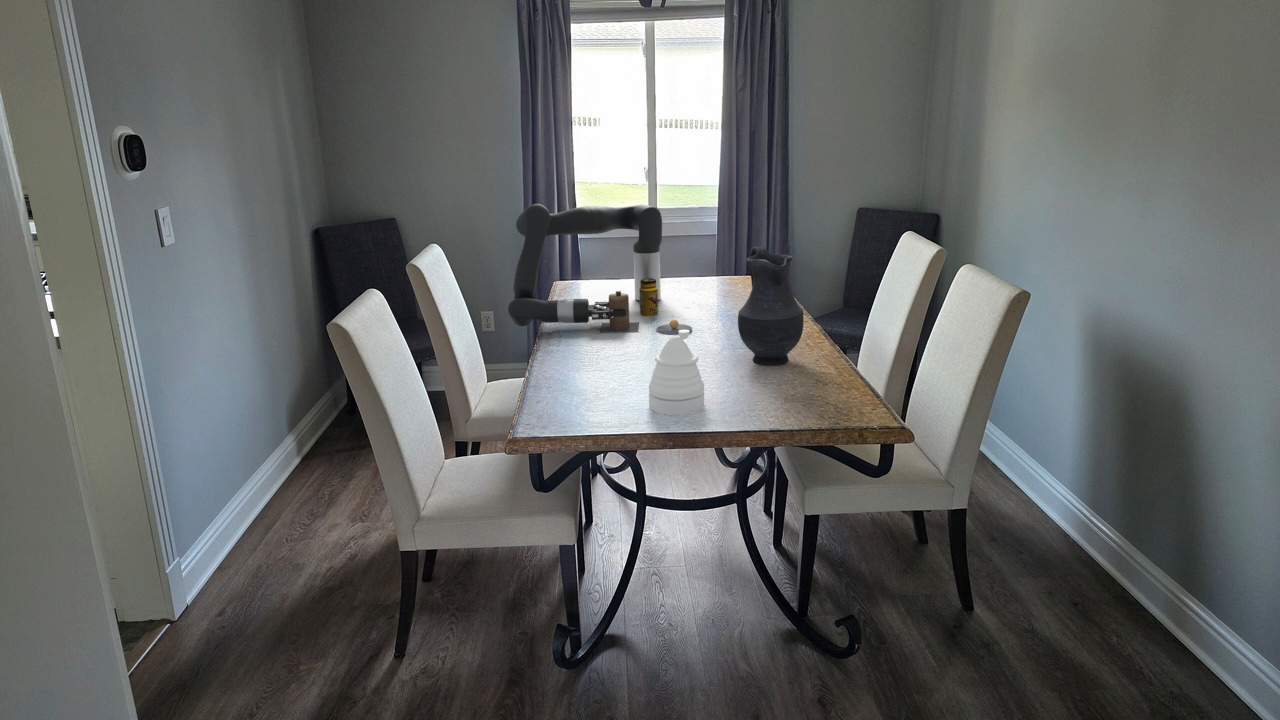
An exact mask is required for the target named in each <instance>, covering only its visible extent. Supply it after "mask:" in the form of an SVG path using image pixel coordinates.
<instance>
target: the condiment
mask: <svg viewBox="0 0 1280 720" xmlns="http://www.w3.org/2000/svg"><path fill="white" fill-rule="evenodd" d="M640 283H641V284H640V286H641V287H640V289H639V294H640V301H639V313H640V315H641V316H645V317H648V316H649V317H652V316H657V315H658V313H659V302H658V301H659V300H658V289H657V287H656V280H655V279H652V278H645V279H641V281H640Z"/></svg>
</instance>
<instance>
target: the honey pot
mask: <svg viewBox="0 0 1280 720" xmlns="http://www.w3.org/2000/svg"><path fill="white" fill-rule="evenodd" d="M678 333H679V334H678V336H672V337H670V338H669V339H668V340H667V341H666V342H665V344H664V345H663V346H662V349H661V350H660V353H659V354H657V355H656V356H654V357H655V358H654V361H655V363H656V365H655V368H653V370H652V376H651V380H650V382H649V385H648V392H649V393H648V403H649V404H648V405H649V409H650V410H651V409H652V410H653V411H652V410H651V411H652V412H654V411H655V413H656V412H658V413H657V414H659V413H662V414H661V415H664V414H667V415H666V416H686V415H687V414H688V415H691V413H693V414H695V412H696V413H698V412H701V411H702V410H703V409H704V408H703V407H705V383H704V382H703V381H704V380H702V375H701V374H700V369H699V368H698V365H697V362H699V355H698V354H696V353H694V352H692V351H691V350H690V348H689V346H688V344H687V343H686V341H684V340H686V339H688V338H689V336H690V334H691V333H690V331H689V330H679V331H678ZM701 409H702V410H701Z"/></svg>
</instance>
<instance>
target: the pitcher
mask: <svg viewBox="0 0 1280 720" xmlns="http://www.w3.org/2000/svg"><path fill="white" fill-rule="evenodd" d="M793 258H794V257H793V256H792V255H788V254H780V253H778V254H777V253H770V252H769V251H768V250H767V248H765V247H764V246H761V245H760V246H757V245H755V246H753V247H752V248H751V249H750V252H749V256H748V257H747V258H746V262H747V263H748V265H749V273H750V279H751V290H750V293H749V296H748V298H747V300H746V302H745V304H744V305H743V306H742V307H741V308H740V309H739V311H738V314H737V326H738V327H737V328H738V332H739V336H740V339H741V340H742V342H743V344H744V345H745V347H746V348H747V349H749V350H750V351H751V352H752V353H753V354H754V356H753V357H752V362H753V363H754V364H756V365H757V366H758V365H759V366H765V367H775V366H777V367H778V366H782V365H785V364H788V363H789V360H790V359H789V357H788V354H789V353H790V352H791V351H792V350H793V349H794V348H795V347H796V346H797V345H798V344H799V342H800V340H801V338H802V335H803V331H804V322H805V321H804V310H803V308H802V307H801V306H800V305H799V304H798V303H797V300H796V299H795V296H794V294H793V292H792V288H791V285H790V282H789V277H788V273H789V272H788V271H789V266H790V264H791V262H792V260H793Z"/></svg>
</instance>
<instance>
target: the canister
mask: <svg viewBox="0 0 1280 720" xmlns="http://www.w3.org/2000/svg"><path fill="white" fill-rule="evenodd" d="M629 298H630V297H629V294H628V293H624V292H622V291H621V290H616V291H615V293H611V294H609V295H608V302H609V309H626V316H624V317H613V318H611V319H608V320H609V323H610V329H613V330H625V329H629V327H630V325H629V322H630V303H629V301H630V300H629Z"/></svg>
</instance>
